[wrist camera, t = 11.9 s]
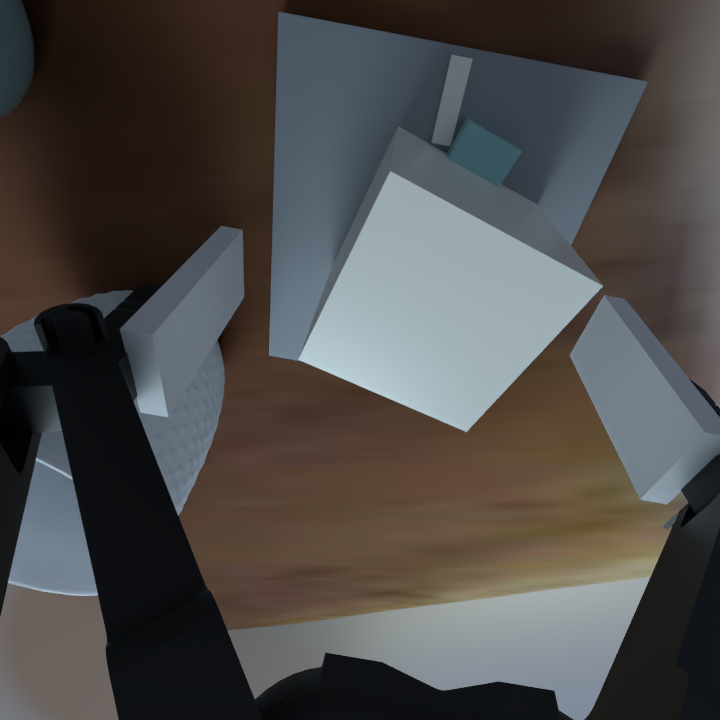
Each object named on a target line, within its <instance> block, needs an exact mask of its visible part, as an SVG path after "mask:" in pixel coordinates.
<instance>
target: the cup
mask: <svg viewBox="0 0 720 720" xmlns="http://www.w3.org/2000/svg"><path fill="white" fill-rule="evenodd" d="M34 66H35V53H34V41H33V36H32V31H31V26H30V22H29V19H28V16H27V13H26V10H25V6H24V4H23V2H22V0H0V119H1V118H3V117H4V116H6V115H8V114H9V113H11V112H12V111H13V110H14V109H15V108H16V107H17V106H18V105H19V104H20V103H21V102H22V100H23V99H24V98H25V97H26V95H27V92H28V89H29V87H30V84H31V81H32V79H33V74H34Z"/></svg>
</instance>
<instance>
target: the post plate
mask: <svg viewBox="0 0 720 720" xmlns="http://www.w3.org/2000/svg"><path fill="white" fill-rule="evenodd" d="M647 83H648V82H647V81H642V80H636V79H631V78H626V77H621V76H615V75H610V74H605V73H599V72H594V71H589V70H584V69H578V68H573V67H568V66H563V65H557V64H552V63H547V62H542V61H536V60H531V59H526V58H520V57H515V56H510V55H505V54H499V53H494V52H489V51H484V50H478V49H473V48H468V47H462V46H457V45H452V44H447V43H441V42H436V41H431V40H426V39H420V38H415V37H410V36H405V35H399V34H394V33H389V32H383V31H378V30H373V29H368V28H362V27H357V26H352V25H347V24H341V23H336V22H331V21H325V20H320V19H315V18H310V17H304V16H299V15H294V14H289V13H283V12H278V44H277V81H276V118H275V155H274V192H273V228H272V265H271V302H270V339H269V355H270V356H275V357H281V358H286V359H292V360H297V361H300V360H298V359H299V356H300V353H301V350H302V348H303V345H304V342H305V340H306V337H307V334H308V331H309V329H310V326H311V323H312V320H313V318H314V315H315V312H316V309H317V307H318V304H319V301H320V298H321V296H322V293H323V290H324V287H325V285H326V282H327V279H328V276H329V274H330V271H331V268H332V266H333V264H334V261H335V259H336V257H337V255H338V253H339V251H340V249H341V247H342V244H343V242H344V240H345V238H346V236H347V234H348V232H349V230H350V227H351V225H352V223H353V221H354V219H355V217H356V215H357V213H358V210H359V208H360V206H361V204H362V202H363V200H364V198H365V195H366V193H367V191H368V189H369V187H370V185H371V183H372V181H373V178H374V176H375V174H376V172H377V170H378V168H379V166H380V164H381V161H382V159H383V157H384V155H385V153H386V151H387V149H388V147H389V144H390V142H391V140H392V138H393V136H394V134H395V132H396V130H397V127H398V126H399V127H401V128H403V129H404V130H406V131H408V132H410V133H411V134H413V135H415V136H417V137H419V138H420V139H422V140H424V141H426V142H427V143H429V144H431V145H433V146H435V147H436V148H438V149H440V150H442V151H443V152H445V153H447V151H448V149H449V147H450V146H451V144H452V142H453V140H454V138H455V136H456V135H457V133H458V131H459V129H460V127H461V126H462V124H463V122H464V120H465V118H466V117H468V118H470V119H471V120H473V121H475V122H477V123H478V124H480V125H482V126H483V127H485V128H487V129H488V130H490V131H492V132H494V133H495V134H497V135H499V136H500V137H502V138H504V139H505V140H507V141H509V142H511V143H512V144H514V145H516V146H517V147H518V148H519V149H520V150H521V151H522V152H521V154H520V156H519V157H518V159H517V160H516V162H515V163H514V165H513V166H512V168H511V169H510V171H509V172H508V174H507V175H506V177H505V178H504V180H503V181H502V183H501V184H502V185H504V186H505V187H507V188H509V189H511V190H512V191H514V192H516V193H518V194H520V195H521V196H523V197H525V198H527V199H528V200H530V201H532V202H534V203H535V204H537V205H538V206H539V207H540V208H541V209H542V211H543V212H544V213H545V214H546V216H547V217H548V218H549V219H550V221H551V222H552V223H553V224H554V226H555V227H556V228H557V229H558V231H559V232H560V233H561V234H562V236H563V237H564V238H565V239H566V241H567V242H568V243H569V244H570V246H571V245H572V243H573V240H574V238H575V236H576V234H577V232H578V230H579V228H580V226H581V223H582V221H583V219H584V217H585V215H586V213H587V211H588V209H589V206H590V204H591V202H592V200H593V198H594V196H595V194H596V191H597V189H598V187H599V185H600V183H601V181H602V179H603V177H604V174H605V172H606V170H607V168H608V166H609V164H610V162H611V160H612V157H613V155H614V153H615V151H616V149H617V147H618V145H619V143H620V140H621V138H622V136H623V134H624V132H625V130H626V128H627V126H628V123H629V121H630V119H631V117H632V115H633V113H634V111H635V109H636V106H637V104H638V102H639V100H640V98H641V96H642V94H643V91H644V89H645V87H646V85H647ZM500 396H501V395H500Z"/></svg>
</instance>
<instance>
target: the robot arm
mask: <svg viewBox="0 0 720 720" xmlns="http://www.w3.org/2000/svg"><path fill="white" fill-rule="evenodd" d="M243 298H244V265H243V230H241V229H236V228H230V227H225V226H221V227H220V228H219V229H218V230H217V231H216V232H215V233H214V234H213V235H212V236H211V237H210V238H209V239H208V240H207V241H206V242H205V243H204V244H203V245H202V246H201V247H200V248H199V249H198V250H197V251H196V252H195V253H194V254H193V255H192V256H191V257H190V258H189V259H188V260H187V261H186V262H185V263H184V264H183V265H182V266H181V267H180V268H179V269H178V270H177V271H176V272H175V273H174V274H173V275H172V276H171V277H170V279H169V280H168V281H167V282H166V283H165V284H164V285H163V286H161V285H156V284H150V283H149V284H147V285H145V286H143V287H140V288H138V289H136V290H134V291H133V292H132V293H131V294H130V295H129V296H127V297H126V298H125V299H124V302H123V301H122V302H121V303H120V304H119V305H118V306H117V307H116V309H113V310H112V311H111V312H110V313H109V314H108V315H107V316H106V317H105V318H104V317H103V314H102V312H101V311H100V310H99V309H98V308H97V307H95V306H92V305H90V304H82V303H70V304H62V305H58V306H54V307H51V308H49V309H47V310H45V311H43V312H41V313H40V314H39V315H38V316H37V317H36V318H35V321H34V327H35V330H36V332H37V335H38V338H39V340H40V343H41V345H42V348H43V350H44V351H26V352H12V351H11V349H10V347H9V345H8V342H7V341H6V340H4V339H3V338H2V337H0V615H1V611H2V606H3V602H4V597H5V593H6V588H7V584H8V580H9V576H10V571H11V567H12V562H13V558H14V554H15V549H16V545H17V540H18V536H19V532H20V527H21V523H22V518H23V514H24V510H25V505H26V501H27V496H28V492H29V488H30V483H31V479H32V475H33V470H34V466H35V461H36V457H37V453H38V448H39V444H40V439H41V435H42V433H43V432H56V431H62V433H63V438H64V442H65V447H66V451H67V456H68V460H69V465H70V469H71V474H72V478H73V483H74V488H75V492H76V497H77V501H78V506H79V510H80V515H81V519H82V524H83V528H84V533H85V538H86V542H87V547H88V551H89V556H90V560H91V565H92V569H93V574H94V578H95V583H96V588H97V592H98V597H99V601H100V606H101V610H102V615H103V619H104V624H105V628H106V633H107V646H106V657H107V664H108V669H109V675H110V680H111V685H112V689H113V694H114V699H115V704H116V709H117V713H118V718H119V720H573V719H572V718H570V717H568V716H567V715H565V714H564V713H562V712H561V711H559V710H558V705H557V701H556V696H555V692H554V691H552V690H546V689H539V688H534V687H528V686H522V685H516V684H510V683H504V682H494V683H488V684H482V685H476V686H470V687H464V688H459V689H453V690H446V691H443V690H438V689H435V688H433V687H431V686H429V685H427V684H425V683H423V682H421V681H419V680H417V679H415V678H413V677H411V676H409V675H407V674H405V673H403V672H401V671H399V670H397V669H395V668H393V667H391V666H389V665H386V664H384V663H382V662H378V661H371V660H366V659H360V658H354V657H348V656H342V655H336V654H330V653H326V654H325V657H324V660H323V664H322V667H319V668H313V669H308V670H304V671H302V672H299V673H295V674H293V675H291V676H289V677H287V678H285V679H283V680H280V681H279V682H277V683H276V684H274V685H273V686H271V687H270V688H268V689H267V690H266V691H264V692H263V693H262V694H261V695H260V696H259V697H257V698H256V699H254V697H253V694H252V692H251V689H250V687H249V684H248V682H247V679H246V677H245V674H244V672H243V669H242V667H241V664H240V661H239V659H238V657H237V654H236V651H235V649H234V647H233V644H232V642H231V639H230V636H229V634H228V631H227V629H226V626H225V624H224V621H223V619H222V616H221V614H220V611H219V609H218V606H217V604H216V602H215V599H214V597H213V595H212V593H211V592H210V591H209V590H208V589H207V587H206V585H205V583H204V580H203V578H202V575H201V573H200V570H199V568H198V565H197V563H196V560H195V558H194V555H193V552H192V550H191V547H190V545H189V542H188V540H187V537H186V535H185V532H184V529H183V527H182V524H181V522H180V519H179V517H178V514H177V512H176V509H175V506H174V504H173V501H172V499H171V496H170V494H169V491H168V489H167V486H166V483H165V481H164V478H163V476H162V473H161V471H160V468H159V466H158V463H157V460H156V458H155V455H154V453H153V450H152V448H151V445H150V442H149V440H148V437H147V435H146V432H145V430H144V427H143V425H142V422H141V419H140V417H139V414H138V412H137V409H136V407H135V404H134V402H133V401H134V400H135V399H136V397H137V401H138V406H139V410H140V413H146V414H152V415H157V416H163V417H169V415H170V414H171V412H172V411H173V409H174V408H175V406H176V404H177V403H178V401H179V400H180V398H181V396H182V395H183V393H184V392H185V390H186V389H187V387H188V385H189V384H190V382H191V381H192V379H193V377H194V376H195V374H196V373H197V371H198V370H199V368H200V366H201V365H202V363H203V362H204V360H205V358H206V357H207V355H208V354H209V352H210V351H211V349H212V347H213V346H214V344H215V343H216V341H217V339H218V338H219V336H220V335H221V333H222V332H223V330H224V328H225V327H226V325H227V324H228V322H229V320H230V319H231V317H232V316H233V314H234V313H235V311H236V309H237V308H238V306H239V305H240V303H241V302H242V300H243ZM570 357H571V359H572V361H573V363H574V365H575V367H576V370H577V372H578V374H579V376H580V378H581V380H582V382H583V384H584V386H585V388H586V390H587V392H588V394H589V396H590V398H591V400H592V402H593V404H594V406H595V408H596V410H597V412H598V414H599V416H600V419H601V421H602V423H603V425H604V427H605V429H606V431H607V433H608V435H609V437H610V439H611V441H612V443H613V445H614V447H615V449H616V451H617V453H618V455H619V457H620V459H621V461H622V463H623V465H624V467H625V470H626V472H627V474H628V476H629V478H630V480H631V482H632V484H633V486H634V488H635V490H636V492H637V494H638V496H639V498H640V500H645V501H651V502H657V503H663V504H668V503H669V502H670V501H671V500H672V499H673V498H674V497H675V496H676V495H678V494H679V493H680V492H681V491H682V492H683V494H684V496H685V497H686V499H687V501H688V502H689V503H688V504H687V505H686V506H685V507H684V508H682V509H681V510H680V511H679V512H678V513H677V514H676V515H675V516H674V517H673V518H671V519H670V520H669V521H668V522H667V523H666V524H665V525H664V526H663V527H665V528H666V529H668V528H669V527H671V526H673V527H672V530H671V532H670V534H669V536H668V539H667V541H666V543H665V546H664V548H663V550H662V552H661V555H660V557H659V559H658V562H657V564H656V566H655V568H654V571H653V573H652V575H651V578H650V580H649V582H648V584H647V587H646V589H645V591H644V594H643V596H642V598H641V600H640V603H639V605H638V607H637V610H636V612H635V614H634V616H633V619H632V621H631V623H630V626H629V628H628V630H627V633H626V635H625V637H624V639H623V641H622V644H621V646H620V648H619V651H618V653H617V655H616V658H615V660H614V662H613V665H612V667H611V669H610V671H609V673H608V676H607V678H606V681H605V683H604V685H603V687H602V689H601V692H600V694H599V696H598V699H597V701H596V703H595V705H594V707H593V709H592V711H591V712H590V714H589V715H588V716H587V718H586V719H585V720H720V408H719V407H718V406H715V404H716V403H715V402H714V401H713V400H712V399H711V397H710V396H709V395H708V394H707V393H706V391H705V390H703V389H702V388H701V387H699V386H698V385H697V384H696V383H694V382H693V381H692V380H691V379H689V378H688V377H687V376H686V375H685V373H684V372H683V371H682V370H681V368H680V367H679V366H678V365H677V363H676V362H675V361H674V360H673V358H672V357H671V356H670V355H669V353H668V352H667V351H666V350H665V348H664V347H663V346H662V345H661V343H660V342H659V341H658V340H657V338H656V337H655V336H654V335H653V334H652V332H651V331H650V330H649V329H648V327H647V326H646V325H645V324H644V322H643V321H642V320H641V319H640V317H639V316H638V315H637V314H636V312H635V311H634V310H633V309H632V307H631V306H630V305H629V304H628V302H627V301H626V300H625V299H621V298H616V297H610V296H605V295H604V297H603V298H602V300H601V302H600V303H599V305H598V307H597V309H596V310H595V312H594V314H593V316H592V317H591V319H590V321H589V323H588V324H587V326H586V328H585V329H584V331H583V333H582V335H581V336H580V338H579V340H578V342H577V343H576V345H575V347H574V349H573V350H572V352H571V354H570Z"/></svg>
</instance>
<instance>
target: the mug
mask: <svg viewBox="0 0 720 720" xmlns="http://www.w3.org/2000/svg"><path fill="white" fill-rule="evenodd" d="M132 292H133V291H130V290H124V291H111V292H108V293H103V294H99V293H97V294H95V295H93V296H91V297H86V298H81V299H77V300H75V301H74V302H71V303H82V304H90V305H92V306H95V307H97V308H98V309H99V310H100V311H101V312H102V314H103V317H104V318H105V317H106V316H107V315H108V314H109V313H110V312H111V311H112V310H113V309H116V307H117V306H118V305H119V304H120V303H121V302H122V301H123V302H124V299H125V298H126V297H127V296H129V295H130V294H131V293H132ZM68 304H70V303H68ZM37 316H38V315H36V316H35V317H33V318H32V319H31V320H29V321H25V322H22V323H21V324H19V325H16V326H15V327H14V328H13V329H12V330H10V331H8V332H7V333H6V334H4V335H2V336H0V337H2V338H3V339H4V340H6V341H7V342H8V345H9V347H10V349H11V351H12V352H26V351H44V350H43V348H42V345H41V343H40V340H39V338H38V335H37V332H36V330H35V327H34V321H35V318H36V317H37ZM224 382H225V377H224V364H223V359H222V354H221V349H220V346H219V343H218V341H216V343H215V344H214V346H213V347H212V349H211V351H210V352H209V354H208V355H207V357H206V358H205V360H204V362H203V363H202V365H201V366H200V368H199V370H198V371H197V373H196V374H195V376H194V377H193V379H192V381H191V382H190V384H189V385H188V387H187V389H186V390H185V392H184V393H183V395H182V396H181V398H180V400H179V401H178V403H177V404H176V406H175V408H174V409H173V411H172V412H171V414H170V415H169V417H163V416H157V415H152V414H146V413H140V410H139V406H138V401H137V397H136V399H135V400H134V401H133V402H134V404H135V407H136V409H137V412H138V414H139V417H140V419H141V422H142V425H143V427H144V430H145V432H146V435H147V437H148V440H149V442H150V445H151V448H152V450H153V453H154V455H155V458H156V460H157V463H158V466H159V468H160V471H161V473H162V476H163V478H164V481H165V483H166V486H167V489H168V491H169V494H170V496H171V499H172V501H173V504H174V506H175V509H176V512H177V514H178V515H179V513H180V512H181V511H182V509H183V505H184V503H185V502H186V500H187V497H188V494H189V492H190V491H191V488H192V487H193V486H194V484H195V480H196V479H197V476H198V473H199V471H200V469H201V468H202V465H203V464H204V462H205V458H206V456H207V451H208V450H209V448H210V447H211V443H212V441H213V435H214V432H215V431H216V428H217V426H218V420H219V414H220V412H221V408H222V399H223V395H224ZM8 583H11V584H15V585H19V586H23V587H27V588H30V589H35V590H40V591H46V592H52V593H59V594H67V595H82V596H92V595H98V592H97V588H96V583H95V578H94V574H93V569H92V565H91V560H90V556H89V551H88V547H87V542H86V538H85V533H84V528H83V524H82V519H81V515H80V510H79V506H78V501H77V497H76V492H75V488H74V483H73V478H72V474H71V469H70V465H69V460H68V456H67V451H66V447H65V442H64V438H63V433H62V431H56V432H43V433H42V435H41V439H40V444H39V448H38V453H37V457H36V461H35V466H34V470H33V475H32V479H31V483H30V488H29V492H28V496H27V501H26V505H25V510H24V514H23V518H22V523H21V527H20V532H19V536H18V540H17V545H16V549H15V554H14V558H13V562H12V567H11V571H10V576H9V580H8Z"/></svg>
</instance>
